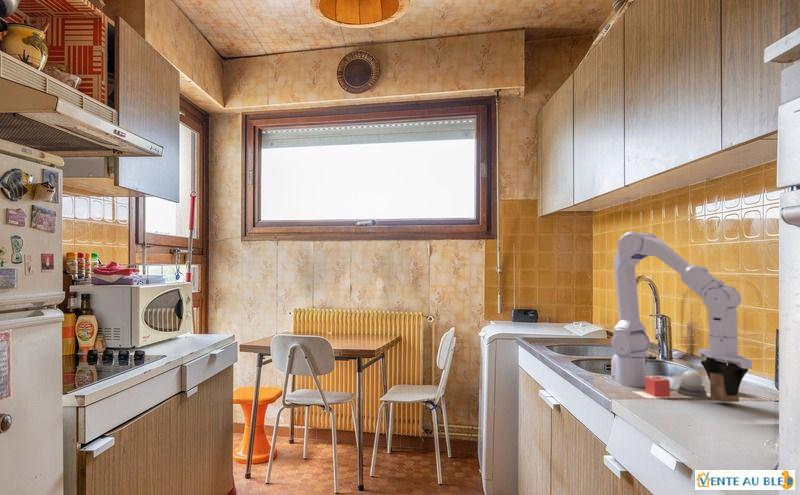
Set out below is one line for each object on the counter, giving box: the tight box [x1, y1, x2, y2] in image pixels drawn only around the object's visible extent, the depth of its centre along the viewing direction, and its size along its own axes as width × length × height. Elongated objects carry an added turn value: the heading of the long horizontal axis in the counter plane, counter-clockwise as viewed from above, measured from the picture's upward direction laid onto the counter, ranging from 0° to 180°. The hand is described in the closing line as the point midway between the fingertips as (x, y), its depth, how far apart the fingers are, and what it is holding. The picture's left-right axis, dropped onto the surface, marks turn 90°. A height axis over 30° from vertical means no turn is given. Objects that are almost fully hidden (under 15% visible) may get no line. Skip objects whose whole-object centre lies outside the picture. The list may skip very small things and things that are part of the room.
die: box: [644, 376, 671, 397], centre depth 121 cm, size 4×4×4 cm
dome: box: [678, 369, 706, 392], centre depth 121 cm, size 6×6×5 cm
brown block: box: [709, 373, 740, 403], centre depth 112 cm, size 4×4×6 cm
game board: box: [631, 387, 711, 399], centre depth 116 cm, size 16×19×2 cm
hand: (724, 392), depth 112 cm, fingers closed on brown block, 4 cm apart
